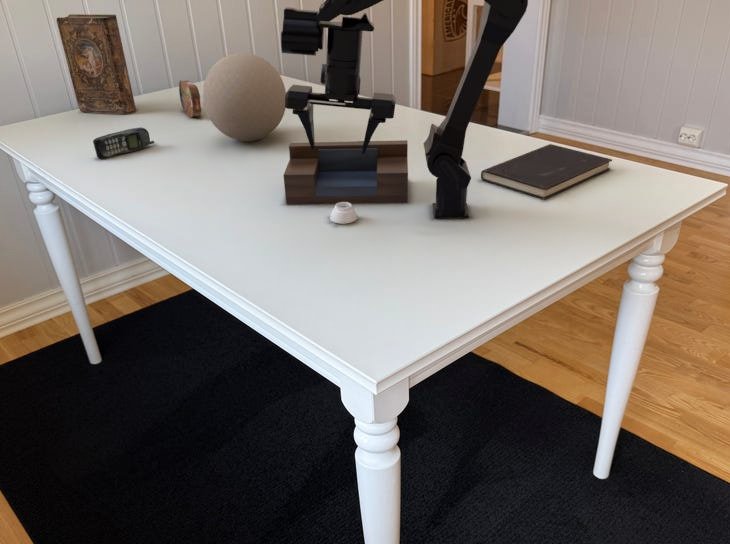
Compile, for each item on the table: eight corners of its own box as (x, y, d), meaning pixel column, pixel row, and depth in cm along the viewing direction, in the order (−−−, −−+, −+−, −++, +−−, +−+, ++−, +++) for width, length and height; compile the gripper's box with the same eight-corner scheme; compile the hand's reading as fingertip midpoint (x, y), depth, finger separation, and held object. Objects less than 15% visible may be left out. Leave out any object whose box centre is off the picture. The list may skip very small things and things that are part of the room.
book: (139, 109, 199) (119, 14, 184) (128, 114, 194) (107, 17, 180) (90, 107, 203) (67, 14, 189) (79, 112, 199) (55, 17, 184)
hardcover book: (610, 170, 144) (612, 159, 142) (544, 200, 132) (546, 188, 130) (546, 153, 154) (547, 143, 152) (480, 180, 142) (481, 169, 140)
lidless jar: (362, 218, 128) (342, 212, 130) (362, 203, 126) (341, 197, 129) (345, 227, 125) (325, 221, 127) (344, 212, 123) (324, 206, 126)
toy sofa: (407, 202, 133) (408, 159, 128) (286, 204, 135) (282, 162, 130) (407, 180, 143) (407, 140, 138) (293, 182, 145) (290, 142, 140)
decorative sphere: (196, 150, 165) (181, 62, 154) (228, 126, 181) (216, 45, 170) (274, 153, 161) (265, 63, 150) (299, 128, 177) (293, 45, 165)
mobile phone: (94, 140, 159) (153, 125, 166) (89, 137, 161) (148, 122, 168) (100, 161, 162) (158, 145, 169) (95, 158, 164) (152, 142, 171)
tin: (181, 108, 198) (175, 77, 193) (191, 106, 199) (186, 76, 194) (193, 120, 187) (188, 88, 182) (205, 119, 188) (200, 87, 183)
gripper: (400, 53, 120) (391, 142, 129) (295, 43, 120) (293, 132, 129) (398, 67, 111) (389, 161, 120) (285, 56, 111) (283, 151, 120)
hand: (338, 150), depth 122 cm, fingers open, 9 cm apart
